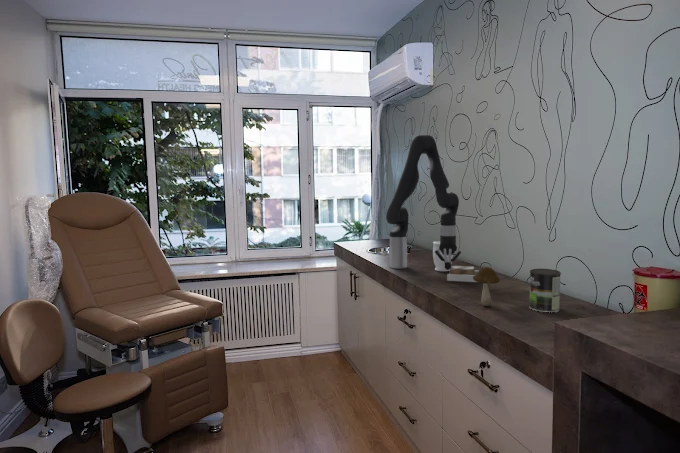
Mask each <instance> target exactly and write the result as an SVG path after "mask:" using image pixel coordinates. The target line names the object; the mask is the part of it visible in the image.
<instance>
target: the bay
mask: <svg viewBox="0 0 680 453" xmlns="http://www.w3.org/2000/svg"><path fill="white" fill-rule="evenodd" d="M478 272H479V270H475V275H476V274H477V273H478ZM473 276H474V275H460V274H450V273H447V274H446V281H448V282H463V283H464V282H467V283H478V282H477V281H474V279H473Z"/></svg>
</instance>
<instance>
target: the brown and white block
mask: <svg viewBox="0 0 680 453" xmlns="http://www.w3.org/2000/svg"><path fill="white" fill-rule="evenodd" d="M449 274H460V275H475V266H469V265H467V266H466V265H465V266H463V265H451V269H450V271H449Z"/></svg>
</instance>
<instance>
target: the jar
mask: <svg viewBox="0 0 680 453" xmlns="http://www.w3.org/2000/svg"><path fill="white" fill-rule="evenodd" d="M432 244H433V248H432V258H433V263H434V266H435V268H434V270H435V271H437V272H450V269H451V268H450V269H449V270H446V269H445V262H444V261H441V260H440V258H439V257H438V256H437V254H436V253H435V251H436V250H438V249H439V246H440V240H437V241H435V240H434V241H432ZM440 254H441V255H442V257H443V258H444V255H443V253H442V252H441V251H440ZM447 256H448V257H449V255H447ZM452 258H454V254H453V255H452V257H451V259H452ZM452 263H453V261H452V262H451V265H452Z"/></svg>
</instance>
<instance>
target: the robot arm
mask: <svg viewBox="0 0 680 453" xmlns="http://www.w3.org/2000/svg"><path fill="white" fill-rule="evenodd" d="M422 155H426V156H427V158H428V160H429V177H430V180H431V182H432V185H433V188H434V189H435V199H436V202H437V204H438V206H439V207H441V208H442V209H445V211H444V212H443V213H441V215H440V228H439V230H440V231H439V241H440V246H439V249H438V250H436V251H435V253H436V254H437V256H438V257H439V258H440V260H441V261H444V262H445V269H446V270H449V269H450V268H451V267H452V264H451V262H452V263H453V262H455V261H456V260H457V258H458V257H459V256H460V255H461V253H462V251H461V250H460V249H458V246H457V227H456V219H457V218H456V216H457V213H458V210H459V205H460V199H459V196H458V194H457V193H455V192H447V189H448V188H449V187H450V183H449V181H448V178H447V175H446V173H445V172H444V167H443V166H442V163H441V159H440V154H439V151H438V147H437V142H436V140H435V138H434V137H433V136H432V135H429V134H417V135H414V137H413V138H412V139H411V142H410V145H409V149H408V154H407V158H406V162H405V165H404V167H403V170H402V174H401V176H400V178H399V181H398V184H397V187H396V189H395V190H396V191H395V193H394V194H393V195H394V196H393V198H392V200H391V202H390V204H389V206H388V209H387V211H386V215H385V217H386V218H385V219H386V222H387V223H388V224H390V225H395V227H394V228H393V229H391V230H390V231H389V249H388V267H390V269H395V270H396V269H397V270H398V269H400V270H401V269H407V267H408V248H407V246H408V242H407V239H408V236H407V235H408V234H407V233H408V232H409V212H408V210H407V208H406V207H405V206H403V205H404V203H405V202H406V201H407V200H408V199H409V197H411V195H412V194H414V192H415V191H416V188H417V186H418V183H419V182H420V181H419V180H420V173H419V172H420V171H419V166H418V165H419V162H420V159H421V157H422ZM440 251H441V252H442V253H443V255H444V258H443V257H442V255H441V254H440ZM454 254H455V255H454ZM447 255H449V257H448V256H447ZM452 255H453V258H452V259H451V257H452Z"/></svg>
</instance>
